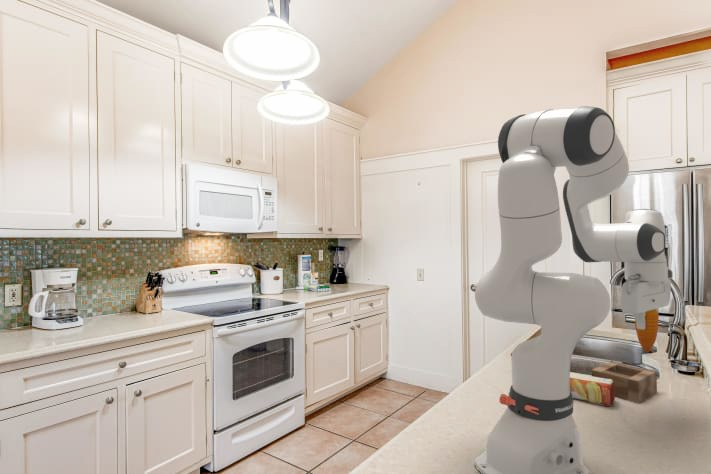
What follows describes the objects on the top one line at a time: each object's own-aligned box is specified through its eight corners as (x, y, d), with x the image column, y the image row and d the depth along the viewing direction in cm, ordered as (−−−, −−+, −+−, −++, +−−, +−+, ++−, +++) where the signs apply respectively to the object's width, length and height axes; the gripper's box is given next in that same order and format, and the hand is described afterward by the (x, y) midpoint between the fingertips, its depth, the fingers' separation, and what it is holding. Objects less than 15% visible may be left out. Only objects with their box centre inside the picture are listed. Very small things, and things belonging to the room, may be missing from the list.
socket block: (638, 403, 108) (638, 381, 108) (592, 390, 118) (591, 369, 118) (656, 392, 115) (656, 371, 115) (611, 380, 125) (610, 361, 125)
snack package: (529, 390, 120) (528, 368, 120) (536, 384, 125) (536, 362, 125) (611, 410, 106) (611, 384, 105) (617, 402, 110) (616, 377, 110)
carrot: (658, 351, 103) (657, 293, 103) (659, 356, 99) (659, 295, 99) (634, 348, 106) (634, 292, 106) (635, 353, 102) (634, 294, 102)
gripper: (642, 276, 94) (643, 335, 94) (675, 271, 106) (676, 323, 106) (612, 275, 99) (614, 331, 99) (647, 270, 111) (648, 320, 111)
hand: (646, 327), depth 103 cm, fingers closed on carrot, 4 cm apart
